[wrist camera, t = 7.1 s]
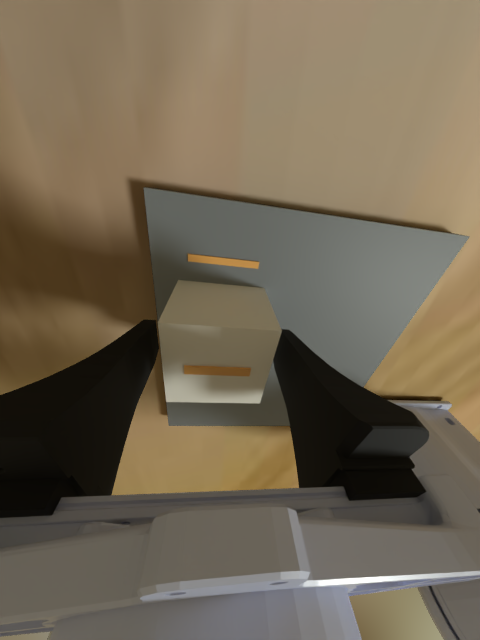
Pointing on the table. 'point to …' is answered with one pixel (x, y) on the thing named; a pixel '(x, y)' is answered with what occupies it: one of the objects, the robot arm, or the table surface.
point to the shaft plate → (296, 282)
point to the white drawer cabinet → (217, 343)
